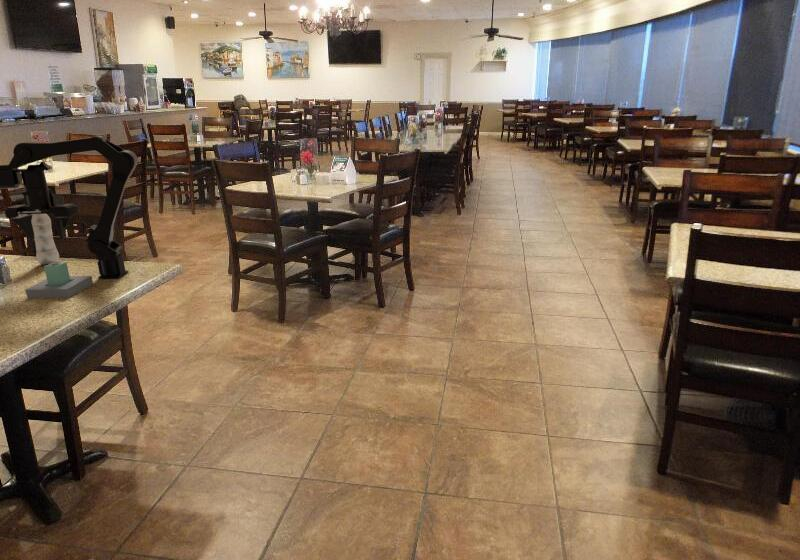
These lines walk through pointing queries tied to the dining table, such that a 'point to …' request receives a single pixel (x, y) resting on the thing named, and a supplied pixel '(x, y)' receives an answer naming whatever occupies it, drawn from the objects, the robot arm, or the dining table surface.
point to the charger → (57, 273)
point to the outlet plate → (59, 288)
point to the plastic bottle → (44, 239)
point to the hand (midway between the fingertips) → (47, 239)
